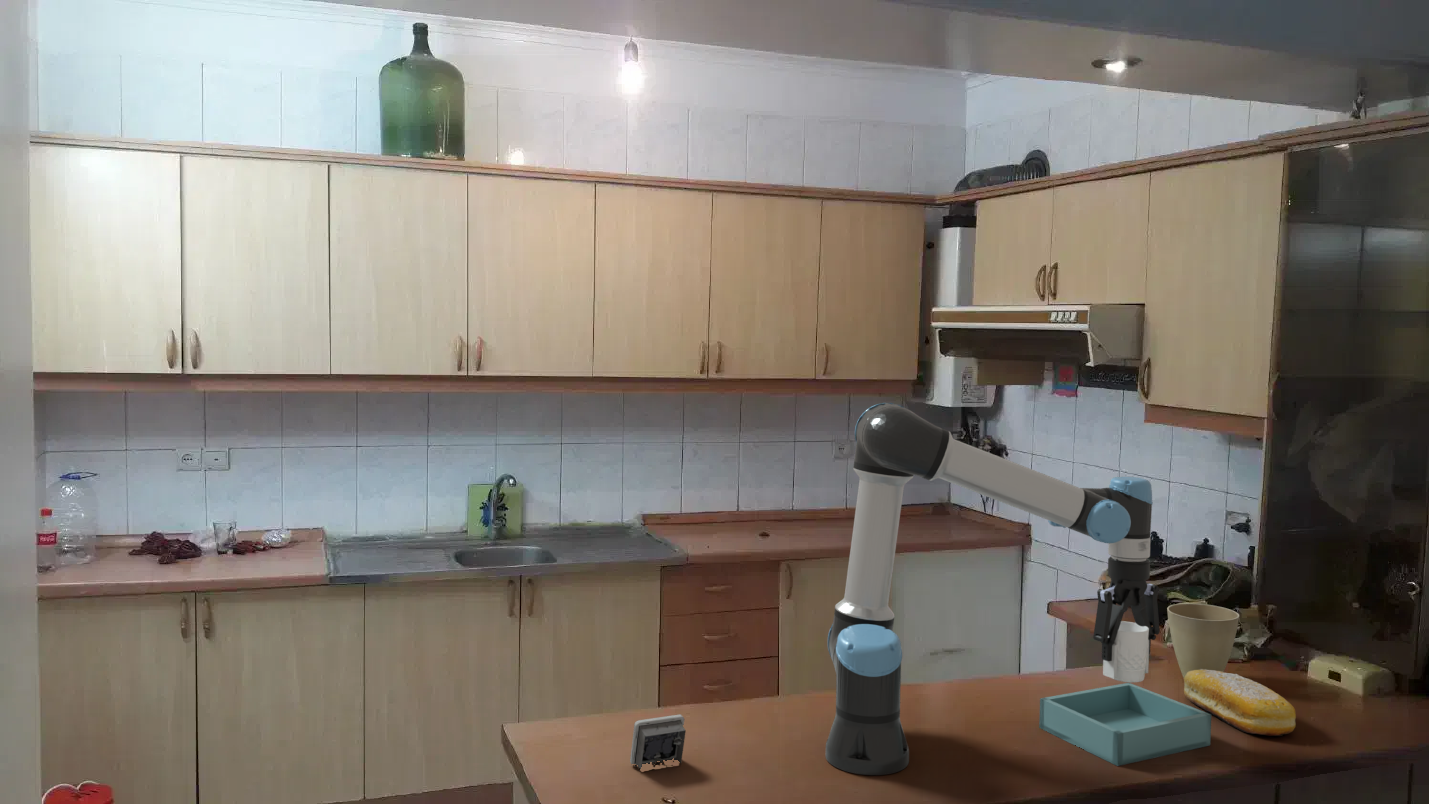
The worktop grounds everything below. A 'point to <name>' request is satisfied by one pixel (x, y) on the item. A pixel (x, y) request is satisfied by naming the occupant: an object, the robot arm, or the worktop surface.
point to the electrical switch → (658, 740)
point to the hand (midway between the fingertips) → (1125, 673)
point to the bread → (1240, 702)
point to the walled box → (1125, 723)
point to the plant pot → (1202, 635)
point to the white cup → (1131, 651)
